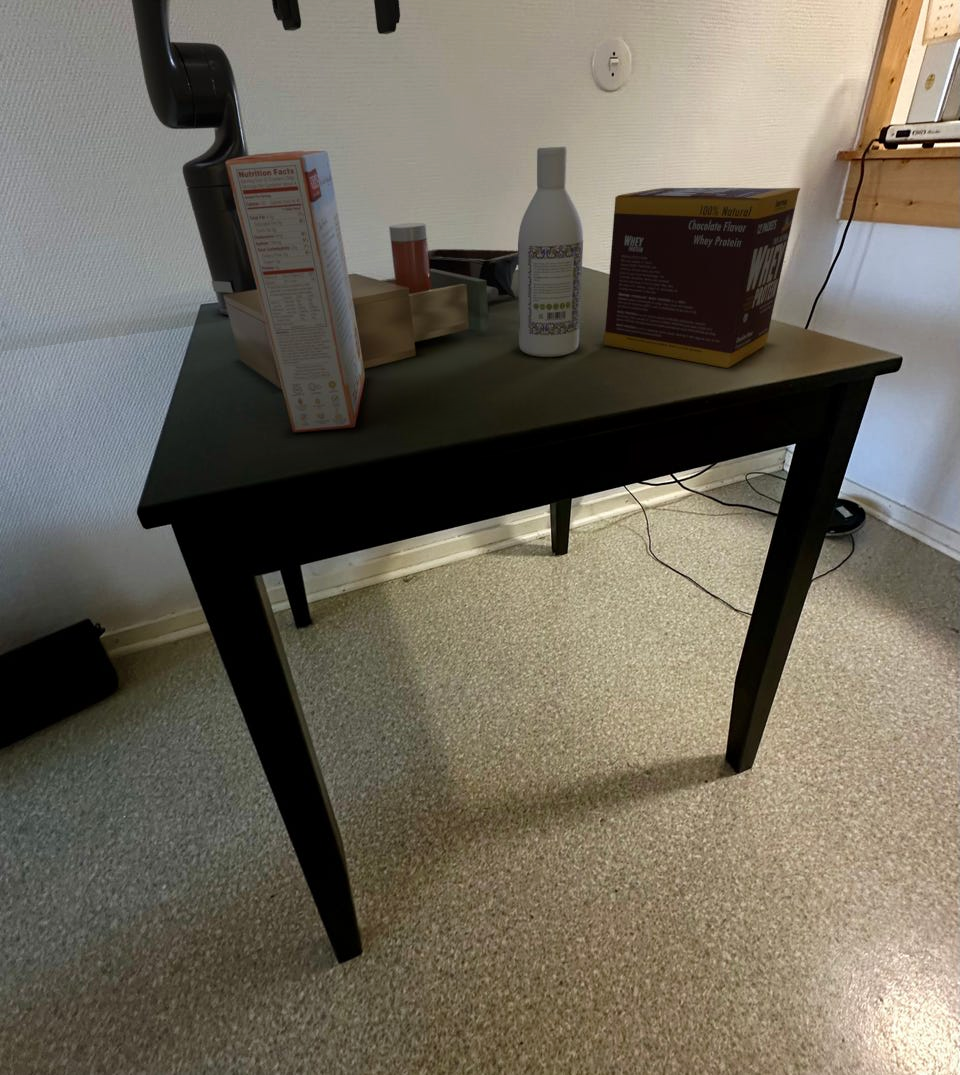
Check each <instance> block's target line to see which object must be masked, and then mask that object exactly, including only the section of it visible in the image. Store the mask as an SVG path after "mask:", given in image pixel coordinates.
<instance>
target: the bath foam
mask: <svg viewBox="0 0 960 1075" xmlns="http://www.w3.org/2000/svg"><path fill="white" fill-rule="evenodd" d="M567 152H568V150H567V146H549V147H548V146H547V147H538V148H537V150H536V187H537V188H536V191H535V193H534V194H533V197H532V199H531V200H530V203H528V205H527V207H526V210H525V211H524V214H523V215H522V219H521V221H520V222H521V223H520V225H519V231H518V237H517V251H518V265H517V267H518V268H517V270H518V271H517V274H518V275H517V280H518V281H517V284H518V286H517V290H518V295H517V296H518V342H519V343H518V346H519V349H520V351H521V352H522V353H524V354H527V355H529V356H533V357H539V358H552V357H555V358H556V357H561V356H566V355H569V354H571V353H574V352H575V351H576V350H577V349H578V347H579V342H580V324H581V301H582V300H581V298H582V278H583V277H582V275H583V255H584V231H583V224H582V220H581V217H580V213H579V212H578V209H577V207H576V206H575V204H574V202H573V200H572V198H571V196H570V194H569V193H568V191H567V188H566V183H567V181H566V180H567Z"/></svg>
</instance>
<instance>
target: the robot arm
mask: <svg viewBox="0 0 960 1075" xmlns="http://www.w3.org/2000/svg"><path fill="white" fill-rule="evenodd" d="M131 4H132V13H133V18H134V25H135V31H136V37H137V43H138V49H139V55H140V56H139V57H140V60H141V62H140V63H141V68H142V73H143V78H144V83H145V87H146V92H147V95H148V98H149V101H150V105H151V107H152V110H153V113H154V114H155V116H156V118H157V119H158V121H159V123H161V124H162V126H164V127H165V128H168V129H171V130H198V129H199V130H200V129H213V130H214V141H213V143H212V144H211V145H210V146H209V148H208V149H207V150H206V151H204V152H203V153H202V154H200V155H198V156H196V157H194V158H193V159H190V160H188V161H187V162H185V163H184V164H182V175H183V179H184V183H185V187H186V191H187V194H188V197H189V201H190V205H191V208H192V212H193V215H194V219H195V222H196V226H197V230H198V234H199V238H200V241H201V245H202V248H203V252H204V255H205V256H204V257H205V260H206V263H207V266H208V271H209V274H210V278H211V285H212V286H211V287H212V289H213V292H215V296H216V299H217V303H218V310H219V313H220V314H221V315H225V316H229V315H228V311H227V307H226V304H225V300H224V295H227V294H233V293H239V292H245V291H251V290H257V286H256V282H255V278H254V274H253V270H252V266H251V263H250V259H249V255H248V251H247V247H246V243H245V239H244V235H243V231H242V228H241V224H240V220H239V216H238V212H237V208H236V204H235V199H234V195H233V192H232V188H231V184H230V180H229V177H228V173H227V169H226V161H227V160H230V159H234V158H239V157H244V156H249V155H250V152H249V148H248V144H247V143H248V142H247V137H246V132H245V128H244V126H245V125H244V122H243V115H242V109H241V103H240V96H239V92H238V91H239V90H238V86H237V82H236V78H235V74H234V71H233V68H232V65H231V62H230V60H229V57H228V55H227V54H226V52H225V51H224V50H223V49H222V47H220V46H219V45H217V44H214V43H207V42H186V41H185V42H179V41H171V35H170V34H171V33H170V8H171V7H170V6H171V0H131ZM373 4H374V14H375V23H376V30H377V33H378V35H389V34H393V33H395V32H396V30H397V24H400V19H401V10H400V0H373ZM271 5H272V9H273V13H274V16H275V19H276V20H277V21H279V22H280V21H281V24H282V27H283V29H284V31H288V32H289V31H290V32H294V31H297V30H300V29H301V27H302V19H301V18H302V17H301V11H300V6H299V0H271Z"/></svg>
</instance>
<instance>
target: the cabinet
mask: <svg viewBox="0 0 960 1075" xmlns="http://www.w3.org/2000/svg"><path fill="white" fill-rule="evenodd" d="M348 276H349V282H350V288H351V294H352V300H353V306H354V312H355V318H356V323H357V329H358V335H359V341H360V347H361V353H362V359H363V365H364V370H365V369H368V368H373V367H377V366H381V365H384V364H389V363H392V362H393V363H394V362H397V361H400V360H405V359H409V358H414V357H416V356H417V352H416V345H415V344H416V342H414V333H413V323H412V314H411V305H410V296H409V288H407V287H403V286H399V285H396V284H392V283H388V282H384V281H381V280H382V279H377V278H373V277H369V276H365V275H361V274H358V273H348ZM224 300H225V304H226V307H227V311H228V315H227V316H228V318H229V322H230V326H231V330H232V333H233V337H234V340H235V345H236V348H237V352H238V355H239V359H240V362H241V363H243V364H244V365H245V366H247V367H248V368H250V369H252V371H255V372H256V373H257V374H259V375H260V376H261V377H263V378H264V379H266V380H267V381H269V383H271V384H272V385H275V386H276V387H277V388H279V389H280V390H282V386H281V382H280V378H279V374H278V370H277V366H276V362H275V358H274V354H273V350H272V346H271V342H270V338H269V334H268V330H267V326H266V322H265V318H264V314H263V310H262V306H261V302H260V298H259V294H258V290H251V291H245V292H239V293H233V294H227V295H224Z"/></svg>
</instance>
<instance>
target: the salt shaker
mask: <svg viewBox="0 0 960 1075" xmlns="http://www.w3.org/2000/svg"><path fill="white" fill-rule="evenodd" d="M388 232H389V241H390V248H391V257H392V258H391V259H392V266H393V274H394V275H393V276H394V278H395V284H396V285H399V286H403V287H407V288H409V294H412V293H417V292H422V291H427V290H432V286H431V275H430V263H429V251H428V250H429V243H428V242H429V241H428V240H429V239H428V230H427V224H426V223H424V222H407V223H404V222H403V223H397V224H391V225H389V227H388Z"/></svg>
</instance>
